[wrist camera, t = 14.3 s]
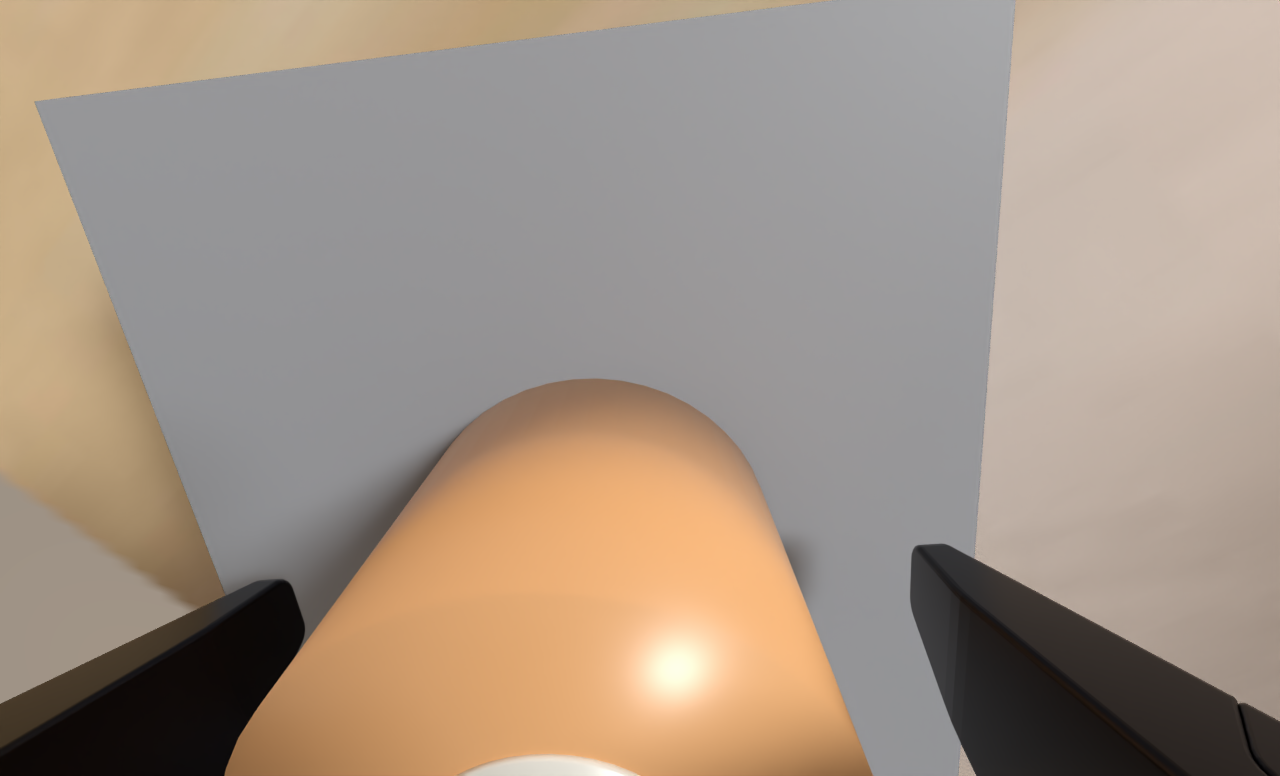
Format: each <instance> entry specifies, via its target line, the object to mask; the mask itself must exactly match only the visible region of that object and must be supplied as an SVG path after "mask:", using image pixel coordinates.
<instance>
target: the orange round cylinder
mask: <svg viewBox="0 0 1280 776" xmlns="http://www.w3.org/2000/svg"><path fill="white" fill-rule="evenodd" d="M224 776H873V774H872V772H871V769H870V766H869V764H868V761H867V759H866V756H865V754H864V751H863V749H862V746H861V743H860V741H859V738H858V736H857V733H856V731H855V728H854V725H853V723H852V720H851V718H850V715H849V713H848V710H847V708H846V705H845V702H844V700H843V697H842V695H841V692H840V690H839V687H838V684H837V682H836V679H835V677H834V674H833V672H832V669H831V667H830V664H829V661H828V659H827V656H826V654H825V651H824V649H823V646H822V643H821V641H820V638H819V636H818V633H817V631H816V628H815V625H814V623H813V620H812V618H811V615H810V613H809V610H808V608H807V605H806V602H805V600H804V597H803V595H802V592H801V590H800V587H799V584H798V582H797V579H796V577H795V574H794V572H793V569H792V567H791V564H790V561H789V559H788V556H787V554H786V551H785V549H784V546H783V543H782V541H781V538H780V536H779V533H778V531H777V528H776V526H775V523H774V520H773V518H772V515H771V513H770V510H769V508H768V505H767V502H766V500H765V497H764V495H763V492H762V490H761V487H760V485H759V483H758V480H757V478H756V476H755V474H754V471H753V469H752V467H751V466H750V464H749V462H748V461H747V459H746V458H745V456H744V455H743V453H742V451H741V450H740V449H739V447H738V446H737V445H736V444H735V443H734V442H733V440H732V439H731V438H730V437H729V436H728V435H727V433H726V432H725V431H723V430H722V429H721V428H720V427H719V426H718V425H717V424H716V423H714V422H713V421H712V420H711V419H710V418H709V417H707V416H706V415H704V414H703V413H701V412H700V411H698V410H697V409H695V408H694V407H693V406H691V405H690V404H688V403H686V402H684V401H682V400H680V399H678V398H676V397H674V396H672V395H670V394H667V393H665V392H662V391H659V390H656V389H653V388H650V387H647V386H644V385H639V384H635V383H630V382H625V381H620V380H609V379H597V378H595V379H571V380H565V381H559V382H553V383H547V384H544V385H541V386H538V387H534V388H531V389H528V390H524V391H522V392H520V393H518V394H516V395H513V396H511V397H509V398H507V399H504V400H503V401H501V402H499V403H498V404H496V405H495V406H493V407H491V408H490V409H488V410H487V411H485V412H483V413H482V414H481V415H480V416H479V417H478V418H476V419H475V420H474V421H473V422H472V423H470V424H469V425H468V426H467V427H466V428H465V429H464V430H463V431H462V432H461V434H460V435H459V436H458V437H457V438H456V439H455V440H454V441H453V442H452V444H451V445H450V447H449V448H448V449H447V451H446V452H445V453H444V455H443V456H442V457H441V459H440V460H439V461H438V463H437V464H436V466H435V467H434V468H433V470H432V471H431V472H430V474H429V475H428V476H427V478H426V479H425V481H424V482H423V483H422V485H421V486H420V487H419V489H418V490H417V491H416V493H415V494H414V496H413V497H412V498H411V500H410V501H409V502H408V504H407V505H406V506H405V508H404V509H403V511H402V512H401V513H400V515H399V516H398V517H397V519H396V520H395V521H394V523H393V524H392V526H391V527H390V528H389V530H388V531H387V532H386V534H385V535H384V536H383V538H382V539H381V541H380V542H379V543H378V545H377V546H376V547H375V549H374V550H373V551H372V553H371V554H370V555H369V557H368V558H367V560H366V561H365V562H364V564H363V565H362V566H361V568H360V569H359V570H358V572H357V573H356V575H355V576H354V577H353V579H352V580H351V581H350V583H349V584H348V585H347V587H346V588H345V590H344V591H343V592H342V594H341V595H340V596H339V598H338V599H337V600H336V602H335V603H334V605H333V606H332V607H331V609H330V610H329V611H328V613H327V614H326V615H325V617H324V618H323V620H322V621H321V622H320V624H319V625H318V626H317V628H316V629H315V630H314V632H313V633H312V635H311V636H310V637H309V639H308V640H307V641H306V643H305V644H304V645H303V647H302V648H301V649H300V651H299V652H298V654H297V655H296V656H295V658H294V659H293V660H292V662H291V663H290V664H289V666H288V667H287V669H286V670H285V671H284V673H283V674H282V675H281V677H280V678H279V679H278V681H277V682H276V684H275V685H274V686H273V688H272V689H271V690H270V692H269V693H268V694H267V696H266V697H265V699H264V700H263V701H262V703H261V704H260V705H259V707H258V708H257V710H256V711H255V713H254V714H253V716H252V717H251V719H250V721H249V722H248V724H247V725H246V727H245V728H244V730H243V731H242V733H241V735H240V736H239V738H238V740H237V743H236V745H235V748H234V750H233V752H232V755H231V757H230V760H229V762H228V765H227V767H226V770H225V775H224Z"/></svg>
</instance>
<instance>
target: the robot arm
mask: <svg viewBox="0 0 1280 776" xmlns="http://www.w3.org/2000/svg"><path fill="white" fill-rule="evenodd" d="M910 604H911V609H912V613H913V617H914V619H915V622H916V625H917V628H918V631H919V634H920V636H921V639H922V642H923V645H924V648H925V650H926V653H927V656H928V659H929V662H930V665H931V667H932V670H933V673H934V676H935V679H936V682H937V684H938V687H939V690H940V693H941V696H942V698H943V701H944V704H945V707H946V709H947V712H948V715H949V717H950V720H951V723H952V725H953V727H954V729H955V732H956V734H957V736H958V738H959V741H960V743H961V745H962V747H963V749H964V751H965V753H966V755H967V757H968V759H969V761H970V763H971V766H972V768H973V770H974V772H975V774H976V776H1280V721H1278V720H1276V719H1274V718H1273V717H1271V716H1269V715H1267V714H1265V713H1263V712H1261V711H1259V710H1258V709H1256V708H1254V707H1252V706H1250V705H1248V704H1246V703H1239V704H1238V703H1237V700H1236V699H1235V698H1234V697H1233V696H1231V695H1229V694H1227V693H1225V692H1223V691H1222V690H1220V689H1218V688H1216V687H1214V686H1212V685H1210V684H1208V683H1207V682H1205V681H1203V680H1201V679H1199V678H1197V677H1195V676H1193V675H1192V674H1190V673H1188V672H1186V671H1184V670H1182V669H1180V668H1178V667H1177V666H1175V665H1173V664H1171V663H1169V662H1167V661H1165V660H1163V659H1162V658H1160V657H1158V656H1156V655H1154V654H1152V653H1150V652H1148V651H1147V650H1145V649H1143V648H1141V647H1139V646H1137V645H1135V644H1133V643H1132V642H1130V641H1128V640H1126V639H1124V638H1122V637H1120V636H1118V635H1117V634H1115V633H1113V632H1111V631H1109V630H1107V629H1105V628H1103V627H1102V626H1100V625H1098V624H1096V623H1094V622H1092V621H1090V620H1088V619H1087V618H1085V617H1083V616H1081V615H1079V614H1077V613H1075V612H1073V611H1072V610H1070V609H1068V608H1066V607H1064V606H1062V605H1060V604H1058V603H1057V602H1055V601H1053V600H1051V599H1049V598H1047V597H1045V596H1043V595H1042V594H1040V593H1038V592H1036V591H1034V590H1032V589H1030V588H1028V587H1027V586H1025V585H1023V584H1021V583H1019V582H1017V581H1015V580H1013V579H1012V578H1010V577H1008V576H1006V575H1004V574H1002V573H1000V572H998V571H997V570H995V569H993V568H991V567H989V566H987V565H985V564H983V563H982V562H980V561H978V560H976V559H974V558H972V557H970V556H968V555H967V554H965V553H963V552H961V551H959V550H957V549H955V548H953V547H952V546H950V545H947V544H942V543H941V544H924V545H917V546H915V547H914V548H913V551H912V555H911V578H910ZM304 636H305V622H304V619H303V616H302V613H301V610H300V607H299V604H298V602H297V599H296V596H295V593H294V590H293V587H292V585H291V584H290V583H289V582H288V581H287V580H284V579H269V580H259V581H255V582H253V583H251V584H249V585H247V586H245V587H242V588H240V589H238V590H236V591H234V592H232V593H230V594H228V595H226V596H224V597H222V598H220V599H218V600H215V601H213V602H211V603H209V604H207V605H205V606H203V607H201V608H199V609H197V610H195V611H193V612H190V613H188V614H186V615H184V616H182V617H180V618H178V619H176V620H174V621H172V622H170V623H168V624H166V625H163V626H161V627H159V628H157V629H155V630H153V631H151V632H149V633H147V634H145V635H143V636H141V637H138V638H136V639H134V640H132V641H130V642H128V643H126V644H124V645H122V646H120V647H118V648H116V649H113V650H112V651H109V652H107V653H105V654H103V655H101V656H99V657H97V658H95V659H93V660H91V661H89V662H86V663H85V664H82V665H80V666H78V667H76V668H74V669H72V670H70V671H68V672H66V673H64V674H62V675H59V676H57V677H55V678H53V679H51V680H49V681H47V682H45V683H43V684H41V685H39V686H36V687H35V688H33V689H30V690H28V691H26V692H24V693H22V694H20V695H18V696H16V697H14V698H12V699H9V700H8V701H5V702H3V703H1V704H0V776H224V775H225V770H226V767H227V765H228V762H229V760H230V757H231V755H232V752H233V750H234V748H235V745H236V743H237V740H238V738H239V736H240V735H241V733H242V731H243V730H244V728H245V727H246V725H247V724H248V722H249V721H250V719H251V717H252V716H253V714H254V713H255V711H256V710H257V708H258V707H259V705H260V704H261V703H262V701H263V700H264V699H265V697H266V696H267V694H268V693H269V692H270V690H271V689H272V688H273V686H274V685H275V684H276V682H277V681H278V679H279V678H280V677H281V675H282V674H283V673H284V671H285V670H286V669H287V667H288V666H289V664H290V663H291V662H292V660H293V659H294V658H295V656H296V655H297V653H298V651H299V649H300V647H301V645H302V642H303V640H304Z"/></svg>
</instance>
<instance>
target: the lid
mask: <svg viewBox="0 0 1280 776" xmlns="http://www.w3.org/2000/svg"><path fill="white" fill-rule="evenodd" d="M1014 13H1015V0H832V1H824V2H816V3H809V4H801V5H793V6H785V7H777V8H769V9H761V10H753V11H745V12H737V13H730V14H722V15H714V16H706V17H698V18H690V19H682V20H674V21H666V22H659V23H651V24H643V25H635V26H627V27H619V28H611V29H603V30H595V31H587V32H580V33H572V34H564V35H556V36H548V37H540V38H532V39H524V40H516V41H508V42H501V43H493V44H485V45H477V46H469V47H461V48H453V49H445V50H437V51H430V52H422V53H414V54H406V55H398V56H390V57H382V58H374V59H366V60H358V61H351V62H343V63H335V64H327V65H319V66H311V67H303V68H295V69H287V70H279V71H272V72H264V73H256V74H248V75H240V76H232V77H224V78H216V79H208V80H201V81H193V82H185V83H177V84H169V85H161V86H153V87H145V88H137V89H129V90H122V91H114V92H106V93H98V94H90V95H82V96H74V97H66V98H58V99H50V100H43V101H35V105H36V107H37V110H38V112H39V115H40V117H41V120H42V123H43V125H44V128H45V130H46V133H47V136H48V138H49V141H50V143H51V146H52V148H53V151H54V154H55V156H56V159H57V161H58V164H59V167H60V169H61V172H62V174H63V177H64V179H65V182H66V185H67V187H68V190H69V192H70V195H71V197H72V200H73V203H74V205H75V208H76V210H77V213H78V216H79V218H80V221H81V223H82V226H83V228H84V231H85V234H86V236H87V239H88V241H89V244H90V247H91V249H92V252H93V254H94V257H95V259H96V262H97V265H98V267H99V270H100V272H101V275H102V277H103V280H104V283H105V285H106V288H107V290H108V293H109V296H110V298H111V301H112V303H113V306H114V308H115V311H116V314H117V316H118V319H119V321H120V324H121V327H122V329H123V332H124V334H125V337H126V339H127V342H128V345H129V347H130V350H131V352H132V355H133V357H134V360H135V363H136V365H137V368H138V370H139V373H140V376H141V378H142V381H143V383H144V386H145V388H146V391H147V394H148V396H149V399H150V401H151V404H152V407H153V409H154V412H155V414H156V417H157V419H158V422H159V425H160V427H161V430H162V432H163V435H164V437H165V440H166V443H167V445H168V448H169V450H170V453H171V456H172V458H173V461H174V463H175V466H176V468H177V471H178V474H179V476H180V479H181V481H182V484H183V487H184V489H185V492H186V494H187V497H188V499H189V502H190V505H191V507H192V510H193V512H194V515H195V517H196V520H197V523H198V525H199V528H200V530H201V533H202V536H203V538H204V541H205V543H206V546H207V548H208V551H209V554H210V556H211V559H212V561H213V564H214V567H215V569H216V572H217V574H218V577H219V579H220V582H221V585H222V587H223V590H224V592H225V595H228V594H230V593H232V592H234V591H236V590H238V589H240V588H242V587H245V586H247V585H249V584H251V583H253V582H255V581H259V580H269V579H284V580H287V581H288V582H289V583H290V584H291V585H292V587H293V590H294V593H295V596H296V599H297V602H298V604H299V607H300V610H301V613H302V616H303V619H304V622H305V636H304V640H303V642H302V645H301V647H300V649H301V648H302V647H303V645H304V644H305V643H306V641H307V640H308V639H309V637H310V636H311V635H312V633H313V632H314V630H315V629H316V628H317V626H318V625H319V624H320V622H321V621H322V620H323V618H324V617H325V615H326V614H327V613H328V611H329V610H330V609H331V607H332V606H333V605H334V603H335V602H336V600H337V599H338V598H339V596H340V595H341V594H342V592H343V591H344V590H345V588H346V587H347V585H348V584H349V583H350V581H351V580H352V579H353V577H354V576H355V575H356V573H357V572H358V570H359V569H360V568H361V566H362V565H363V564H364V562H365V561H366V560H367V558H368V557H369V555H370V554H371V553H372V551H373V550H374V549H375V547H376V546H377V545H378V543H379V542H380V541H381V539H382V538H383V536H384V535H385V534H386V532H387V531H388V530H389V528H390V527H391V526H392V524H393V523H394V521H395V520H396V519H397V517H398V516H399V515H400V513H401V512H402V511H403V509H404V508H405V506H406V505H407V504H408V502H409V501H410V500H411V498H412V497H413V496H414V494H415V493H416V491H417V490H418V489H419V487H420V486H421V485H422V483H423V482H424V481H425V479H426V478H427V476H428V475H429V474H430V472H431V471H432V470H433V468H434V467H435V466H436V464H437V463H438V461H439V460H440V459H441V457H442V456H443V455H444V453H445V452H446V451H447V449H448V448H449V447H450V445H451V444H452V442H453V441H454V440H455V439H456V438H457V437H458V436H459V435H460V434H461V432H462V431H463V430H464V429H465V428H466V427H467V426H468V425H469V424H470V423H472V422H473V421H474V420H475V419H476V418H478V417H479V416H480V415H481V414H482V413H483V412H485V411H487V410H488V409H490V408H491V407H493V406H495V405H496V404H498V403H499V402H501V401H503V400H504V399H507V398H509V397H511V396H513V395H516V394H518V393H520V392H522V391H524V390H528V389H531V388H534V387H538V386H541V385H544V384H547V383H553V382H559V381H565V380H571V379H595V378H597V379H609V380H620V381H625V382H630V383H635V384H639V385H644V386H647V387H650V388H653V389H656V390H659V391H662V392H665V393H667V394H670V395H672V396H674V397H676V398H678V399H680V400H682V401H684V402H686V403H688V404H690V405H691V406H693V407H694V408H695V409H697V410H698V411H700V412H701V413H703V414H704V415H706V416H707V417H709V418H710V419H711V420H712V421H713V422H714V423H716V424H717V425H718V426H719V427H720V428H721V429H722V430H723V431H725V432H726V433H727V435H728V436H729V437H730V438H731V439H732V440H733V442H734V443H735V444H736V445H737V446H738V447H739V449H740V450H741V451H742V453H743V455H744V456H745V458H746V459H747V461H748V462H749V464H750V466H751V467H752V469H753V471H754V474H755V476H756V478H757V480H758V483H759V485H760V487H761V490H762V492H763V495H764V497H765V500H766V502H767V505H768V508H769V510H770V513H771V515H772V518H773V520H774V523H775V526H776V528H777V531H778V533H779V536H780V538H781V541H782V543H783V546H784V549H785V551H786V554H787V556H788V559H789V561H790V564H791V567H792V569H793V572H794V574H795V577H796V579H797V582H798V584H799V587H800V590H801V592H802V595H803V597H804V600H805V602H806V605H807V608H808V610H809V613H810V615H811V618H812V620H813V623H814V625H815V628H816V631H817V633H818V636H819V638H820V641H821V643H822V646H823V649H824V651H825V654H826V656H827V659H828V661H829V664H830V667H831V669H832V672H833V674H834V677H835V679H836V682H837V684H838V687H839V690H840V692H841V695H842V697H843V700H844V702H845V705H846V708H847V710H848V713H849V715H850V718H851V720H852V723H853V725H854V728H855V731H856V733H857V736H858V738H859V741H860V743H861V746H862V749H863V751H864V754H865V756H866V759H867V761H868V764H869V766H870V769H871V772H872V774H873V776H958V773H959V760H960V746H961V743H960V741H959V738H958V736H957V734H956V732H955V729H954V727H953V725H952V723H951V720H950V717H949V715H948V712H947V709H946V707H945V704H944V701H943V698H942V696H941V693H940V690H939V687H938V684H937V682H936V679H935V676H934V673H933V670H932V667H931V665H930V662H929V659H928V656H927V653H926V650H925V648H924V645H923V642H922V639H921V636H920V634H919V631H918V628H917V625H916V622H915V619H914V617H913V613H912V609H911V604H910V578H911V555H912V551H913V548H914V547H915V546H917V545H924V544H941V543H942V544H947V545H950V546H952V547H953V548H955V549H957V550H959V551H961V552H963V553H965V554H967V555H968V556H970V557H972V558H974V556H975V542H976V529H977V515H978V502H979V488H980V475H981V461H982V447H983V434H984V420H985V407H986V393H987V379H988V366H989V352H990V339H991V325H992V312H993V298H994V284H995V271H996V257H997V244H998V230H999V216H1000V203H1001V189H1002V176H1003V162H1004V149H1005V135H1006V121H1007V108H1008V94H1009V81H1010V67H1011V53H1012V40H1013V26H1014ZM300 649H299V651H300ZM299 651H298V652H299ZM297 654H298V653H297Z"/></svg>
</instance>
